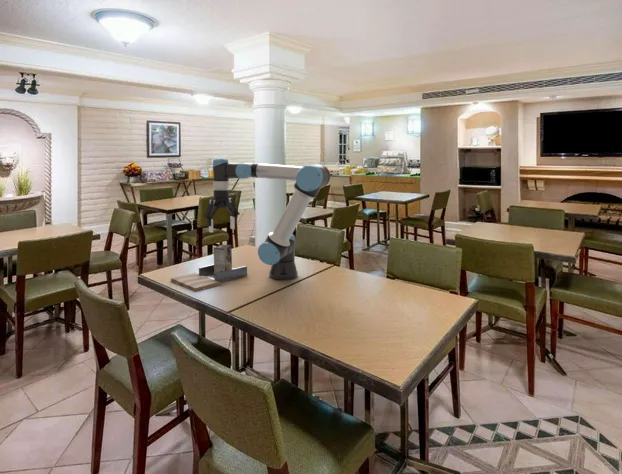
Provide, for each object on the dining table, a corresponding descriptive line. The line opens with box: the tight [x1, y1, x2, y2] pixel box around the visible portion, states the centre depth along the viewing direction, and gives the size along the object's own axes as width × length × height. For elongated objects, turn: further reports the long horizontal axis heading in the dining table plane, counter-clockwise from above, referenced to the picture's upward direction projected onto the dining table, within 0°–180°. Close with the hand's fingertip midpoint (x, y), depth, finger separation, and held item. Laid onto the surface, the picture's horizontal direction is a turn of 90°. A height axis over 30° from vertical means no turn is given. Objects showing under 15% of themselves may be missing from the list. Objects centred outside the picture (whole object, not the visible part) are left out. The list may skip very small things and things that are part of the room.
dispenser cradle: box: [198, 263, 248, 283], centre depth 219 cm, size 15×20×5 cm
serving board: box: [170, 272, 221, 292], centre depth 206 cm, size 22×14×2 cm, turn 49°
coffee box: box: [213, 244, 233, 277], centre depth 217 cm, size 9×6×16 cm
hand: (222, 230), depth 214 cm, fingers open, 13 cm apart
